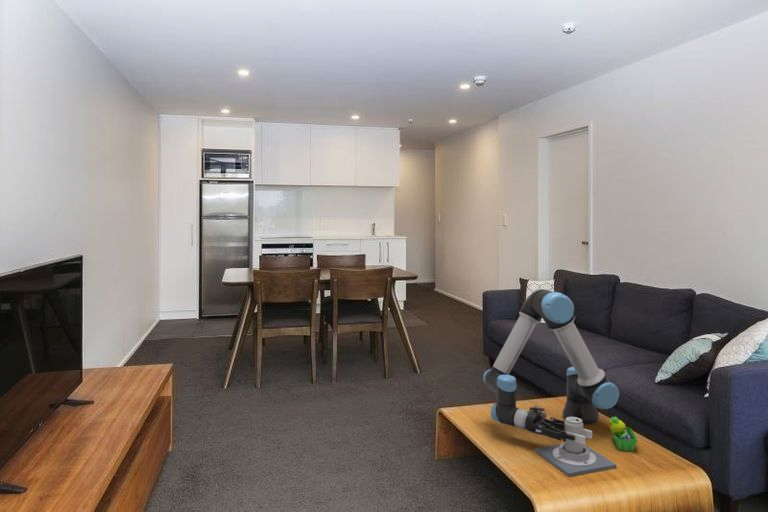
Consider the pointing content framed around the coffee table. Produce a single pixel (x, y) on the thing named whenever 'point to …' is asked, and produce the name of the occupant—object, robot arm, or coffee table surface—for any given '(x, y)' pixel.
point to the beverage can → (574, 427)
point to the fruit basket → (622, 435)
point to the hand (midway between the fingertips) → (588, 437)
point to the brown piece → (538, 411)
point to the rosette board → (575, 469)
